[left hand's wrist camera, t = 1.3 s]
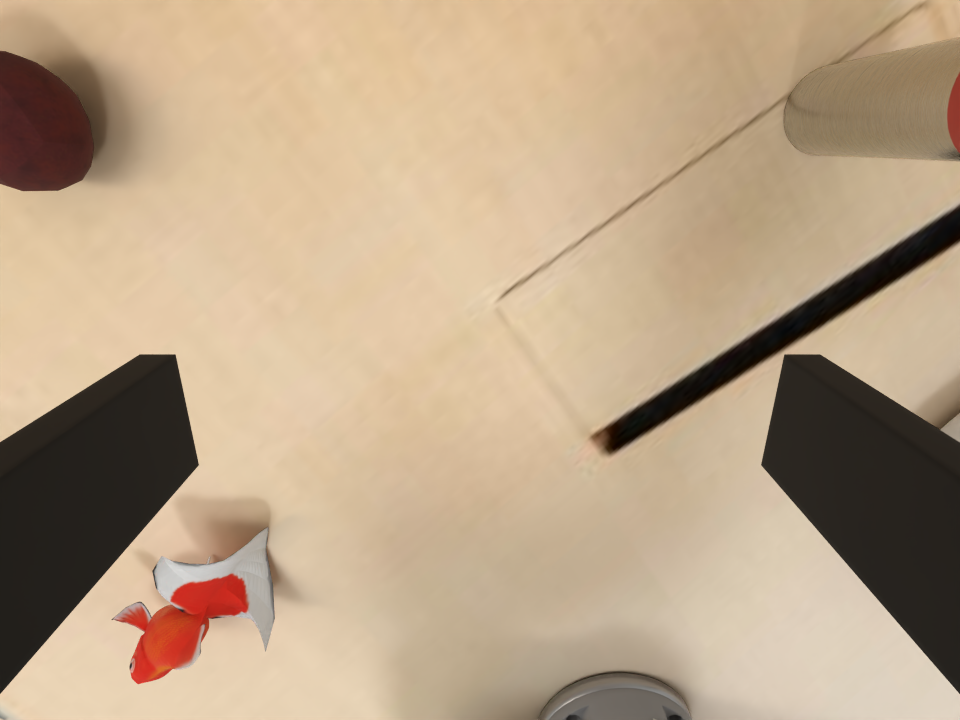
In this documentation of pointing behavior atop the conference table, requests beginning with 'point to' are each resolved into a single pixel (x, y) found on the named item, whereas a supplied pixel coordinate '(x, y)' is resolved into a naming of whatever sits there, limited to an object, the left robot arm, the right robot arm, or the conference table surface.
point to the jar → (878, 105)
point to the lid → (954, 114)
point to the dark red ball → (40, 128)
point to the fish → (199, 607)
